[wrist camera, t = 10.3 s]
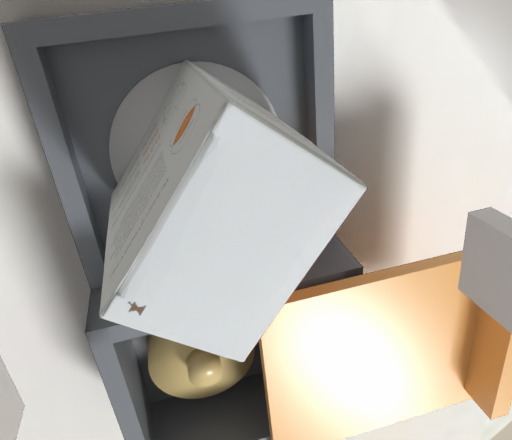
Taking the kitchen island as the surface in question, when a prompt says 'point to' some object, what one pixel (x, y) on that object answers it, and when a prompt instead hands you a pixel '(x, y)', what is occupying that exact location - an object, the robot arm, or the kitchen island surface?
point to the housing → (123, 148)
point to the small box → (218, 219)
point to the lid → (382, 353)
